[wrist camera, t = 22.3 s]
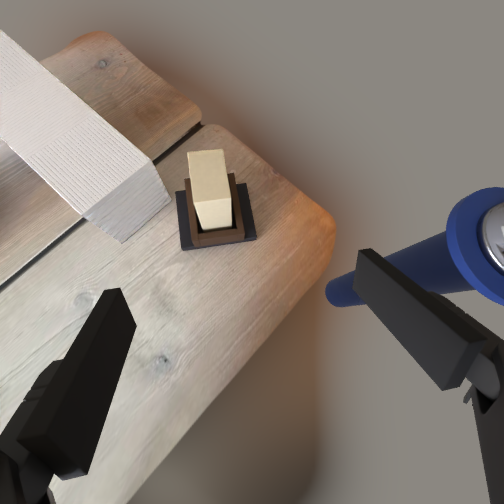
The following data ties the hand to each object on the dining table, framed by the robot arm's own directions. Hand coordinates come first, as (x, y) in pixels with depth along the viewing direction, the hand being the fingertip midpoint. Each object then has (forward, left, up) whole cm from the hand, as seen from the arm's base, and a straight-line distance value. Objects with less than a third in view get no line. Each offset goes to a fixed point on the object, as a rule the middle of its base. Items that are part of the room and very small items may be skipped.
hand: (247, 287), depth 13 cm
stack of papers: (+34, -14, -24) cm, 44 cm away
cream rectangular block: (+9, -13, -23) cm, 28 cm away
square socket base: (+9, -13, -24) cm, 29 cm away
